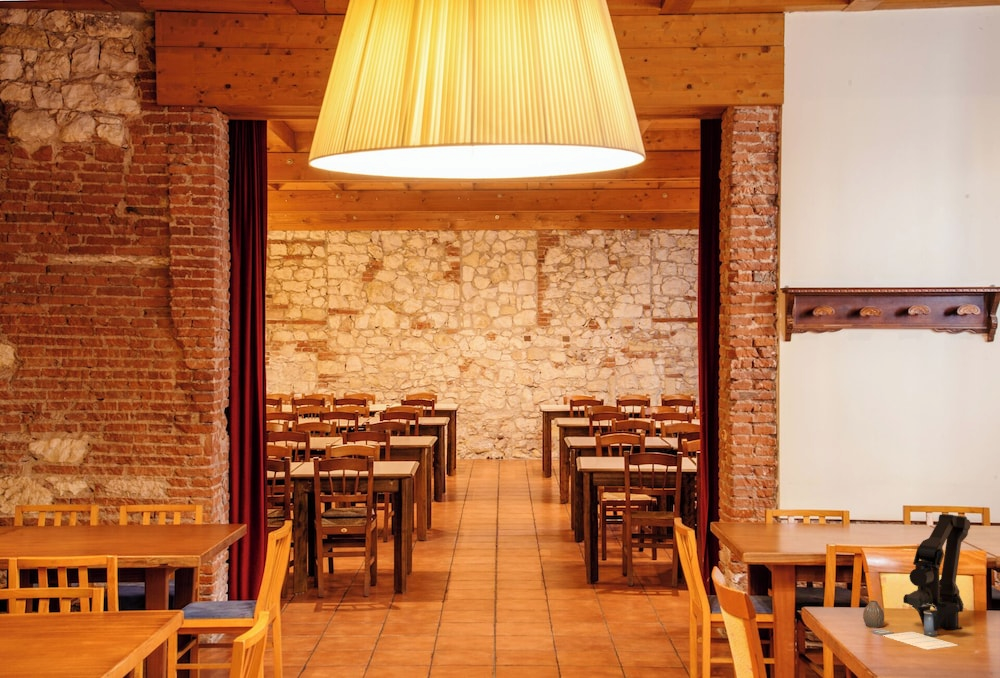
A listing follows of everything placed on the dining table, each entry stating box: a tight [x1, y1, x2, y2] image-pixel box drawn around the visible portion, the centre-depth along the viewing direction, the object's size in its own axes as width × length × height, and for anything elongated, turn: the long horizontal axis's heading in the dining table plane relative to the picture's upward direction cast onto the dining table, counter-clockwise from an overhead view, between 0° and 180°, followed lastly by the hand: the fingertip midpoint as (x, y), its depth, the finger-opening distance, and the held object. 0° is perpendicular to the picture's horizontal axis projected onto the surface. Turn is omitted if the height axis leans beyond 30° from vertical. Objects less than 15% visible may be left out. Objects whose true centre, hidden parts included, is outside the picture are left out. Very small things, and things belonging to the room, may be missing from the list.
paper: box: [882, 631, 959, 651], centre depth 340 cm, size 13×19×1 cm
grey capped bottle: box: [923, 609, 938, 638], centre depth 347 cm, size 4×4×8 cm
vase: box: [862, 600, 885, 629], centre depth 360 cm, size 7×7×9 cm
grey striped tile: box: [869, 628, 895, 636], centre depth 350 cm, size 6×5×1 cm
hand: (930, 629), depth 347 cm, fingers closed on grey capped bottle, 4 cm apart
